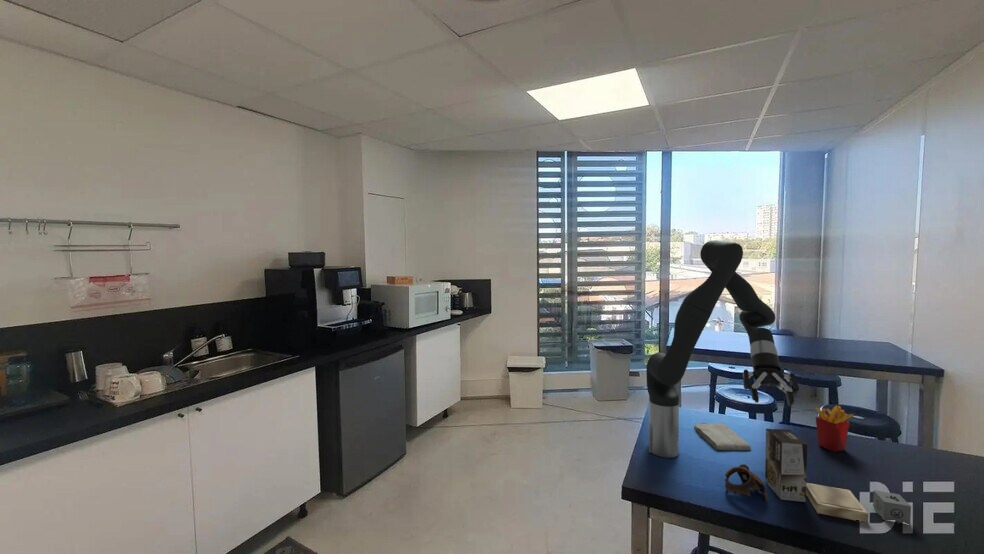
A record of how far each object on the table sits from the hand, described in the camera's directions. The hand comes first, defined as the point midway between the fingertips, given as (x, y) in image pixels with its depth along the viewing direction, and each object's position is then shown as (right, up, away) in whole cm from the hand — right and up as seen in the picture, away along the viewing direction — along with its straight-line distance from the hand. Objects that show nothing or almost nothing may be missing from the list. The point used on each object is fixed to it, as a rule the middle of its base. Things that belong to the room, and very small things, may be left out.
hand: (773, 403), depth 120 cm
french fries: (+30, -19, +11) cm, 37 cm away
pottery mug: (-16, -22, -11) cm, 29 cm away
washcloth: (-5, -20, +21) cm, 29 cm away
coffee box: (-5, -21, -11) cm, 24 cm away
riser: (+3, -21, -17) cm, 28 cm away
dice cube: (+14, -22, -22) cm, 34 cm away
